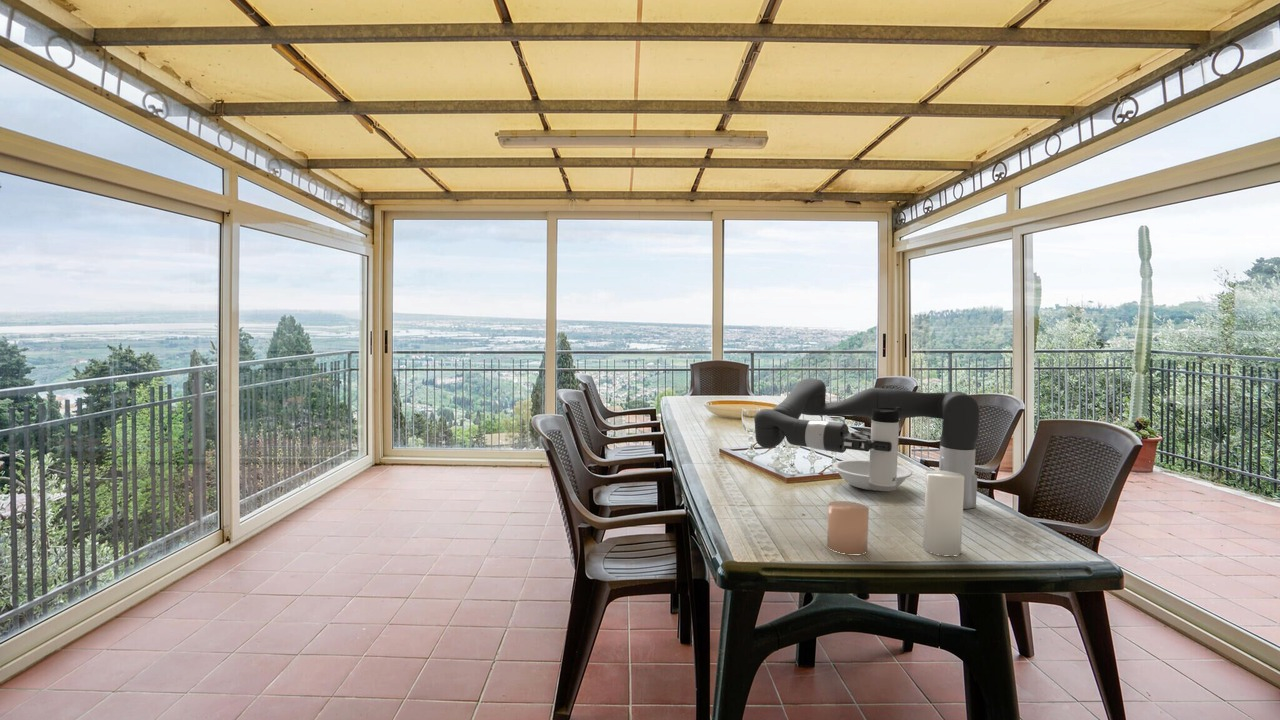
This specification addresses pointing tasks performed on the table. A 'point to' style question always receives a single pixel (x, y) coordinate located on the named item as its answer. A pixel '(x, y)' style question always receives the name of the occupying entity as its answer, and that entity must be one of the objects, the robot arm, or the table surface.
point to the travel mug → (883, 461)
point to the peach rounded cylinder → (847, 527)
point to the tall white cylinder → (943, 512)
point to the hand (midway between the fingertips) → (894, 444)
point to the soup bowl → (864, 473)
